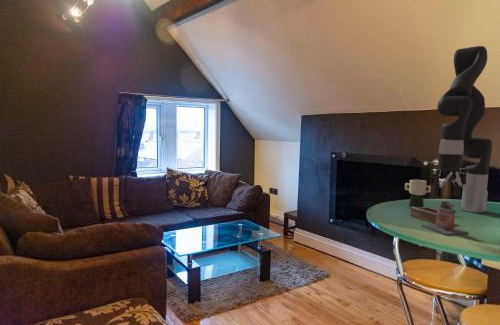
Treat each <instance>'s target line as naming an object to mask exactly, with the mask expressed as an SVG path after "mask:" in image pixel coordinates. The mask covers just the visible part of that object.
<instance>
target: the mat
mask: <svg viewBox="0 0 500 325" xmlns="http://www.w3.org/2000/svg"><path fill="white" fill-rule="evenodd" d="M421 227H422V228H424V229H427V230H430V231H432V232H435V233H438V234H442V235H444V236H456V235H463V234H464V235H466V234H469V231H467V230H465V229H460V228H458V227H455V226H454V231H453V232H451V231H446V230H443V229H441V228H438V227H437V226H435V224H433V223H430V224H421Z"/></svg>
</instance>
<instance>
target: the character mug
mask: <svg viewBox="0 0 500 325" xmlns="http://www.w3.org/2000/svg"><path fill="white" fill-rule="evenodd" d="M427 188H428V189H427ZM431 189H432V185H427V180H425V179H424V180H422V179H410V180H409V182H405V183H404V190H405V191H408V192H409V194H411V196H410V197H409V203H408V206H409V207H410V208H411V207H416V208H417V207H425V206H424V205H425V204H424V197H423V196H424V195H426V194H429V193H431V192H432V190H431Z"/></svg>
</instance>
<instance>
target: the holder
mask: <svg viewBox="0 0 500 325" xmlns="http://www.w3.org/2000/svg"><path fill="white" fill-rule="evenodd" d="M410 217H413V218H415V219H418V220H420V221H421V220H422V221H424V222H427V223H430V224H435V223H436V218H437V209H435V208H431V207H428V206H424V207H417V208H416V207H410Z"/></svg>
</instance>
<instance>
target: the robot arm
mask: <svg viewBox="0 0 500 325" xmlns="http://www.w3.org/2000/svg"><path fill="white" fill-rule="evenodd" d="M487 63H488V50H487V48H486V47H485V46H483V45H477V46H471V47H465V48H458V49H457V50H455V51H454V54H453V66H454V67H453V68H454V72H455V77H454V79H453V80H452V82H451V84H450V87H449V89H448V90H447V91H446V92H445V93H444V94H443V95H442V96H441V97H440V99H439V101H438V103H437V112H438V114H439V115H441V116H442V117H457V120H455V121H452V122H446V123H443V124H442V126H441V133H440V143H439V149H438V160H437V162H438V163H437V164H438V165H439V169H437V168H432V169H431V176H430V186H432V187H434V197H435V198H438V199H442V196H443V186H444V185H445V184H446V183H447V182H452V183H453V188H452V189H453V190H452V191H453V192H452V195H453V197H457V198H459V197H460V196H461V205H460V210H462V211H465V212H470V213H477V214H478V213H479V214H481V213H485V212H486V211H487V206H488V196H489V195H488V194H489V191H488V190H487V189H488V181H489V172H490V171H489V170H490V163H491V156H492V151H493V150H492V149H493V142H492V140H491V139H490V138H485V137H484V138H481V137H479V138H478V137H473V132H474V130H475V129H476V127H477V125H479V123H480V122H481V121H482V120H483V117H484V116H485V114H486V102H485V101H486V100H485V96H484V95H483V93H482V92H481V91H480V90H479V89H478V88H477V87H476V86H475V83H476V81H477V80H478V78H479V77H480V76H481V74H482V72H483V70H484V69H485V67H486V65H487ZM464 157H465V158H468V159H479V162H477V163H475V164H472V165H467V166H464V167H462V166H463V161H464V160H463V159H464ZM461 188H462V189H461ZM461 190H462V191H461ZM461 192H462V194H461Z"/></svg>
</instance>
